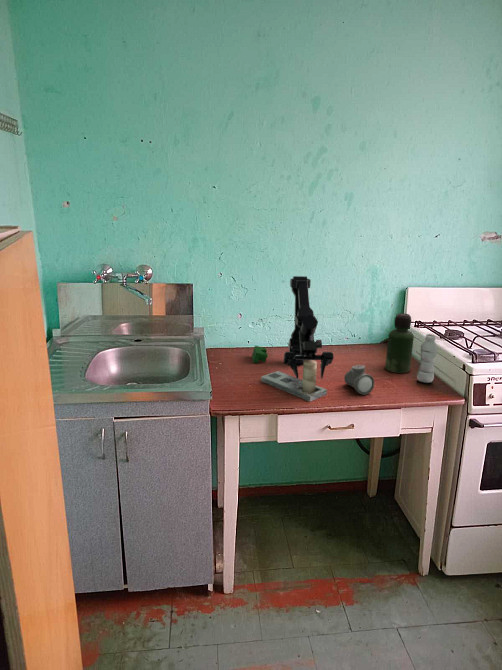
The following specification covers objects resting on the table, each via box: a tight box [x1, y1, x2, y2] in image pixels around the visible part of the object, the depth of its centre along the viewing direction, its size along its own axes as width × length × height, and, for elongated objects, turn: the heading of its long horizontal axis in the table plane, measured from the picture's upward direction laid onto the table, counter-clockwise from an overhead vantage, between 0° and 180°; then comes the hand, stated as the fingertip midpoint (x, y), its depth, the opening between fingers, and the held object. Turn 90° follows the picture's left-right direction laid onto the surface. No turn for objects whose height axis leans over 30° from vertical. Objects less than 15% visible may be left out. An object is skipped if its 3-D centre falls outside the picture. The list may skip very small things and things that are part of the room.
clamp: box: [251, 345, 269, 364], centre depth 218 cm, size 11×6×8 cm, turn 177°
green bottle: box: [384, 312, 415, 374], centre depth 206 cm, size 10×10×25 cm
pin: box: [302, 360, 318, 394], centre depth 181 cm, size 5×5×13 cm
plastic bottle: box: [416, 333, 438, 384], centre depth 194 cm, size 6×7×20 cm
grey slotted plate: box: [260, 370, 328, 402], centre depth 188 cm, size 10×26×2 cm, turn 43°
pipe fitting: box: [343, 364, 375, 396], centre depth 187 cm, size 12×8×10 cm
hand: (309, 378), depth 179 cm, fingers open, 9 cm apart
